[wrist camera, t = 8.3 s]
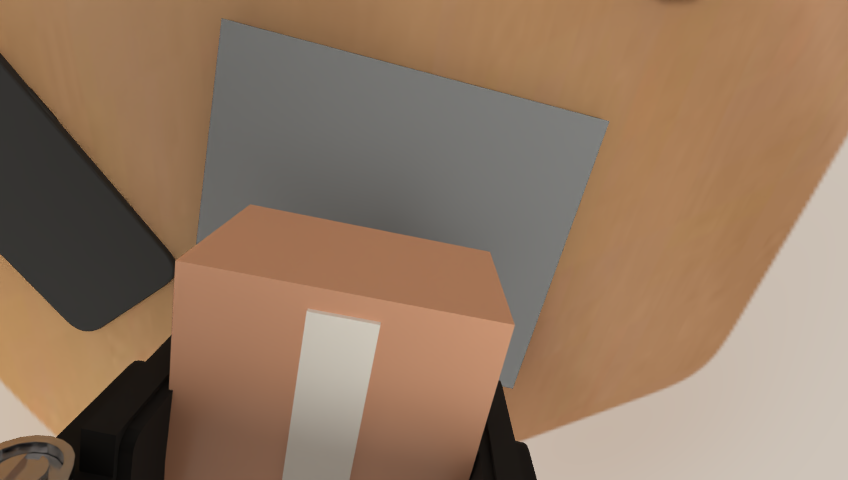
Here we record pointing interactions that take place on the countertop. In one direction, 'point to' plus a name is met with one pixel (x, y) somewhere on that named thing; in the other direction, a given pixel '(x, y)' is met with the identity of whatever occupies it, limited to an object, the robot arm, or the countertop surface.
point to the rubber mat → (397, 158)
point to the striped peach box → (331, 353)
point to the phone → (69, 218)
